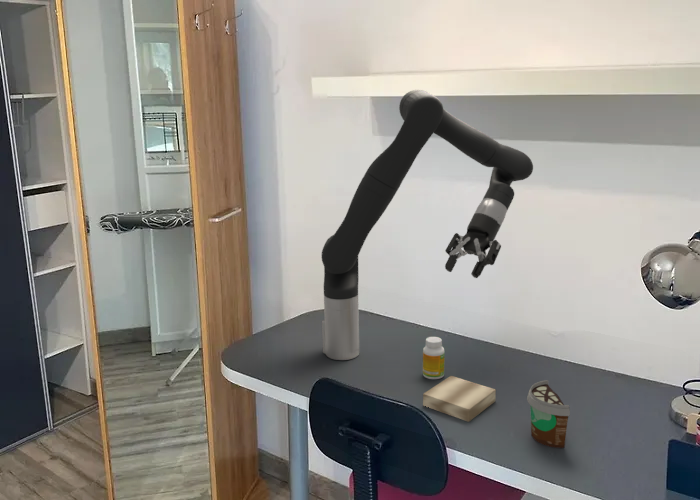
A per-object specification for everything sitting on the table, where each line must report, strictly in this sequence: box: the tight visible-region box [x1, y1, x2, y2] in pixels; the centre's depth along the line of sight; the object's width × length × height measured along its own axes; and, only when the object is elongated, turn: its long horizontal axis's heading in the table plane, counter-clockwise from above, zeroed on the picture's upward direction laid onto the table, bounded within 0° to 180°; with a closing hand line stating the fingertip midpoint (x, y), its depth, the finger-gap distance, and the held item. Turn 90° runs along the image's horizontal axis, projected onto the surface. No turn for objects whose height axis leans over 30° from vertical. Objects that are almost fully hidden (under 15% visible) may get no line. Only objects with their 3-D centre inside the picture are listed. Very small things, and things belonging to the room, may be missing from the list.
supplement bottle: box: [422, 336, 446, 380], centre depth 168 cm, size 5×5×10 cm
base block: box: [422, 375, 497, 423], centre depth 154 cm, size 12×12×3 cm
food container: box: [526, 379, 571, 449], centre depth 139 cm, size 12×6×10 cm, turn 5°
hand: (460, 273), depth 170 cm, fingers open, 8 cm apart
